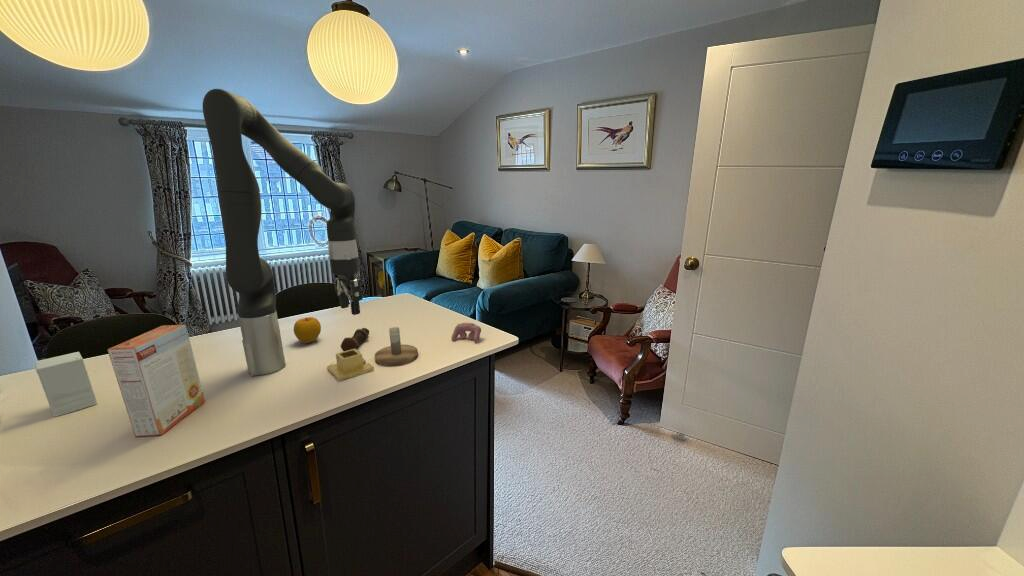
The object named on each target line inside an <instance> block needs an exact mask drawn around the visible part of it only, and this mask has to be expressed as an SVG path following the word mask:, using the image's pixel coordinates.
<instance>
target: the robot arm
mask: <svg viewBox="0 0 1024 576" xmlns="http://www.w3.org/2000/svg"><path fill="white" fill-rule="evenodd" d="M202 115H203V118H204V119H203V120H204V123H205V127H206V131H207V135H208V139H209V141H210V142H209V143H210V148H211V151H212V152H211V153H212V160H213V166H214V167H213V168H214V173H215V179H216V189H217V199H218V206H219V211H220V217H221V223H222V224H221V225H222V230H223V236H224V243H225V244H224V245H225V278H226V282H227V284H228V286H229V287H230V288H231V289H232V290H233V291H235V292H236V293H238V303H237V306H236V311H237V316H238V321H239V327H240V332H241V337H242V340H241V341H242V346H243V351H244V356H245V362H246V367H247V370H248V372H249V375H250V376H251V377H255V376H262V375H268V374H272V373H275V372H278V371H280V370H282V369H283V368H285V366H286V360H285V355H284V347H283V342H282V336H281V329H280V325H279V318H278V312H277V306H276V303H277V294H276V287H275V286H276V285H275V280H274V279H275V278H274V274H273V269H272V267H271V265H270V264H269V263H268V262H267V261H266V260H265V259H263V258H261V257H260V252H259V245H258V244H259V243H258V241H259V232H260V227H261V221H262V199H261V193H260V192H261V191H260V186H259V182H258V180H257V178H256V175H255V173H254V172H253V171H254V170H253V169H252V167H251V165H250V163H249V161H248V159H247V157H246V155H245V151H244V146H243V138H242V136H244V137H247V138H248V139H249V140H251V141H253V142H254V143H255V144H257V145H259V146H260V147H261V148H263V150H264V151H265V152H267V154H268V155H269V156H270V157H271V158H272V160H273V161H274V162H275V163H276V164H277V165H278V166H279V168H281V169H282V171H283V172H285V173H286V174H288V175H289V176H290V177H291V178H292V179H294V181H296V182H298V183H299V184H300V185H302V187H304V188H305V190H307V192H308V193H309V194H310V195H311V197H313V198H314V199H315V200H316V201H317V202H318V203H319V204H320V205H322V206H323V207H325V208H327V209H329V210H330V215H329V219H328V220H326V221H327V222H326V233H327V234H326V235H327V236H326V237H327V249H328V257H329V258H328V259H329V265H330V272H331V274H332V275H333V279H334V280H333V282H334V283H333V284H334V292H335V294H337V296H338V298H339V305H340V306H339V307H340V308H341V309H346V308H349V307H350V312H351V315H353V316H356V315H359V314H361V308H360V301H363V292H362V284H361V280H360V278H357V279H356V277H355V274H357V273H359V272H360V260H359V258H360V257H359V253H358V252H359V250H358V245H357V240H356V232H355V225H354V222H355V221H354V220H355V211H356V198H355V194H354V191H353V190H352V188H351V187H350V186H349V185H348V184H345V183H343V182H336V181H334V180H333V179H331V178H330V177H329V176H328V175H327V174H326V173H325V171H324V169H323V168H322V166H321V165H320V164H319V163H317V162H316V161H314V159H312V158H311V157H309V155H307V154H306V153H305V152H304V151H302V150H301V149H299V147H298V146H296V145H295V144H293V143H292V141H290V140H289V139H287V138H286V137H285V136H284V135H283V134H282V133H281V132H280V131H278V129H276V127H274V125H273V124H271V123H270V121H268V119H266V117H265V116H264V115H263V114H262V112H261V111H260V110H258V109H257V107H255V105H254V104H253V103H252V102H251V101H250V100H248V99H247V98H246V97H244V96H241V95H238V94H236V93H233V92H230V91H228V90H225V89H222V88H213V89H210V90H209V91H208V92H206V93H205V95H204V97H203V99H202ZM349 301H350V302H349ZM349 303H350V306H349Z"/></svg>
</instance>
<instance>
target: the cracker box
mask: <svg viewBox="0 0 1024 576" xmlns="http://www.w3.org/2000/svg"><path fill="white" fill-rule="evenodd" d="M107 352H108V355H109V356H108V357H109V359H110V362H111V365H112V368H113V371H114V374H115V378H116V381H117V384H118V388H119V390H120V394H121V396H122V399H123V404H124V406H125V409H126V413H127V415H128V418H129V422H130V425H131V427H132V430H133V434H134V437H135V438H136V437H138V438H139V437H152V436H162V435H164V434H165V433H166V432H168V431H169V430H171V429H172V428H173V427H174V426H175V425H177V424H178V423H179V422H180V421H182V420H183V419H185V418H186V417H187V416H188V415H190V414H191V413H192V412H194V411H195V410H196V409H197V408H199V407H201V405H203V404H204V403H205V402H206V399H205V398H206V397H205V394H204V391H203V388H202V383H201V378H200V376H199V370H198V367H197V363H196V360H195V356H194V353H193V348H192V344H191V340H190V335H189V333H188V328H187V325H186V324H174V325H173V324H166V325H165V324H164V325H160V326H158V327H155V328H154V329H152V330H149V331H147V332H144V333H142V334H140V335H138V336H135V337H132V338H130V339H128V340H125V341H124V342H121V343H119V344H117V345H115V346H112V347H109V348H107Z"/></svg>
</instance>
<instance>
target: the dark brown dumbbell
mask: <svg viewBox="0 0 1024 576" xmlns="http://www.w3.org/2000/svg"><path fill="white" fill-rule="evenodd" d="M352 335H353V336H352V337H344V338H343V340H342V341H341V343H340V349H341V350H342V352H344V351H348V350H351V349H356V350H357V351H358V350H359V347H360V343H364V342H367V341H366V340H367V339H368V337H369V335H370V330H369V329H368V328H366V327H362V328H357V329H355V332H354V333H353V334H352Z"/></svg>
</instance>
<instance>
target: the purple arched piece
mask: <svg viewBox="0 0 1024 576" xmlns="http://www.w3.org/2000/svg"><path fill="white" fill-rule="evenodd" d="M467 332H469V333H468V335H467ZM481 332H482V328H481V327H480V326H479V325H478V324H476V323H473V322H461V323H458V324H457V325H456V326H455V327H454V329H453V331H452V335H451V341H452V342H454V341H456V340H457V338H458V337H460V339H466V338H468V339H469V340H473V341H474V344H477V343H478V342H479V340H480V337H481Z"/></svg>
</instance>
